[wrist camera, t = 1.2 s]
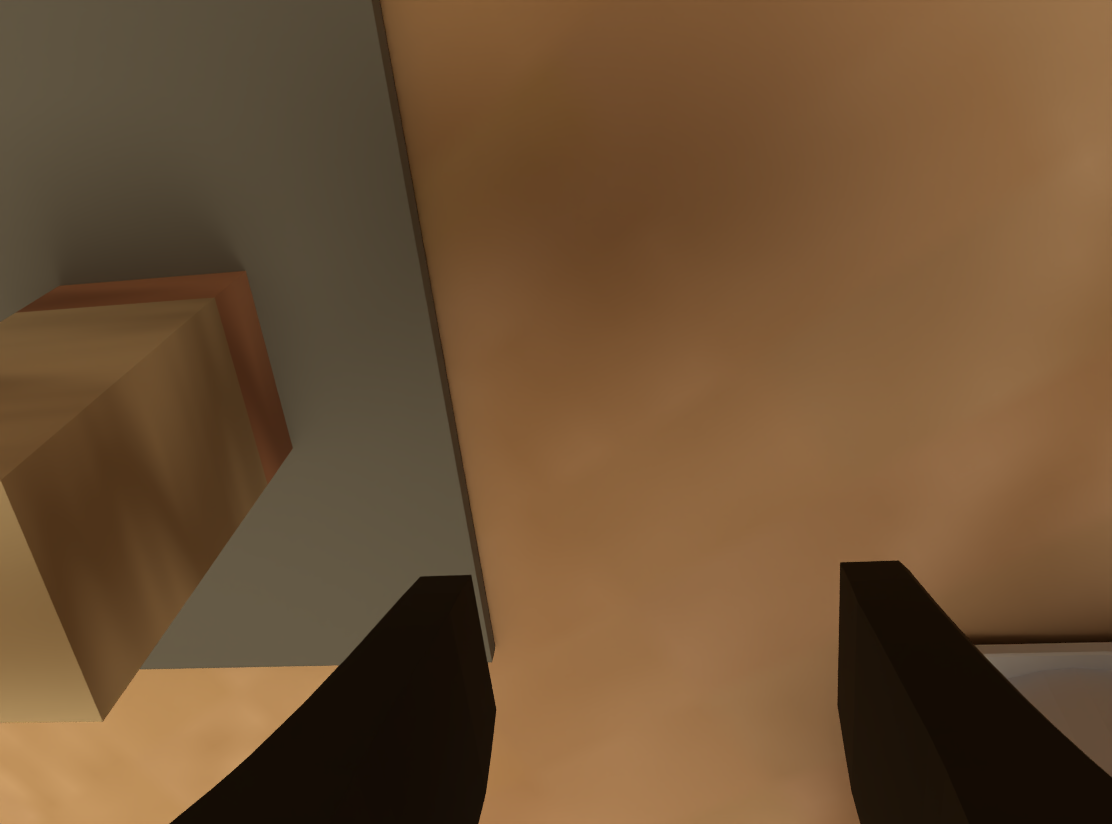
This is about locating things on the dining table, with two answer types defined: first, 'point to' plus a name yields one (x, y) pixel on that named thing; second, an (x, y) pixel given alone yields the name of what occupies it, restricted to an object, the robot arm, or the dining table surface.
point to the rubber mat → (256, 282)
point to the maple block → (121, 475)
